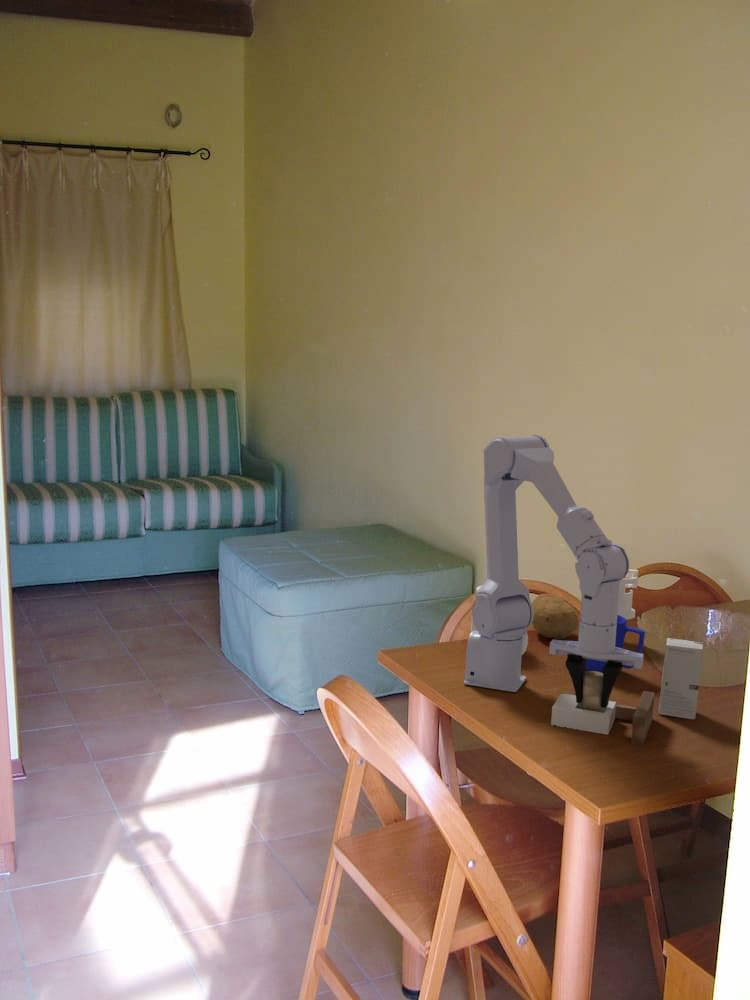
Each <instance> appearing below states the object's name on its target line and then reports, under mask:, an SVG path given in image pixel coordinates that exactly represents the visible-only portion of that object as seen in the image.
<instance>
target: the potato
mask: <svg viewBox="0 0 750 1000" xmlns="http://www.w3.org/2000/svg"><path fill="white" fill-rule="evenodd" d="M531 603H532V606H533V610H534V618H533V622H532V624H531V625H532V627H533V628H534V630H535V631H537V632H538V633H539V634H541V635H542V636H543V637H544V636H545V638H551V639H555V640H561V641H563V640H564V639H566V638H568V637H571V636H573V634H574V632H576V630H577V629H579V617H578V614H577V611H576V610H575V609H574V607H573V605H571V604H570V603H568V602H567V601H565V599H563V598H561V597H560V596H558V595H555V594H552V593H541V594H539V595H538V596H536V597H535V598H534V599H533V600H532V601H531Z"/></svg>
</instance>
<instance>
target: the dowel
mask: <svg viewBox="0 0 750 1000" xmlns="http://www.w3.org/2000/svg"><path fill="white" fill-rule="evenodd" d="M602 693H603V673H601V672H596V671H587V670H586V671H585V672H584V676H583V690H582V703H581V709H583V710H589V711H596V712H602V713H603V707H601V700H602Z"/></svg>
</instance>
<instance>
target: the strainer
mask: <svg viewBox="0 0 750 1000" xmlns="http://www.w3.org/2000/svg"><path fill="white" fill-rule="evenodd" d="M638 582H639V570H638V569H630V568H629V570H628V573H627V575H626V576H625V578H623V579H622V580H620V588H619V600H618V613H617V615H620V616H622V617H624V618H625V619H626V621H627V620H633V619H634V618H636V610H635V609H634V608H633V607H632V606H633V595H634V594H633V593H634V590H633V589H638ZM629 588H630V589H629ZM631 588H632V589H631ZM626 589H629V592H626Z"/></svg>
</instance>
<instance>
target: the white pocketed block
mask: <svg viewBox="0 0 750 1000" xmlns="http://www.w3.org/2000/svg"><path fill="white" fill-rule="evenodd" d="M581 703H582V702H581ZM581 703H577V702H576V695H574V694H569V693H561V692H560V694H559V696H558V697H557V698H556V701H555V702H554V704H553V705H552V707H551V721H550V725H551V726H554V725H556V726H555V727H560V728H565V727H566V728H567V729H571V728H572V730H577V729H578V731H585V732H590V733H596V734H601V735H609V733H610V731H611V730H612V727H613V725H614V722H615V720H616V718H615V712H616V704H617V701H613V700H612V701H611V700H609V702H608V705H607V707H606V708H603V713H602V712H596V711H589V710H583V709H581Z"/></svg>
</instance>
